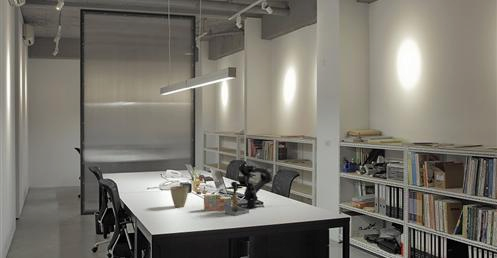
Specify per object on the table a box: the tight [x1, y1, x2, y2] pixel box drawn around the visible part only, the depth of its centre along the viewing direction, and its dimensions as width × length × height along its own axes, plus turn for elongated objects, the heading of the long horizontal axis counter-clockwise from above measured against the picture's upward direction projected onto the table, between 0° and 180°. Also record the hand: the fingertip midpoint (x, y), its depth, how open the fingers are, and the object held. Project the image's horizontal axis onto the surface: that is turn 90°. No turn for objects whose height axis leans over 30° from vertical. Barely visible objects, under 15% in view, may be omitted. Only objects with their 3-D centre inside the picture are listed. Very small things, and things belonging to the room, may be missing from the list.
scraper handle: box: [231, 194, 239, 212], centre depth 364 cm, size 6×6×14 cm
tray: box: [224, 207, 250, 217], centre depth 367 cm, size 14×12×2 cm
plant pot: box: [170, 185, 189, 208], centre depth 395 cm, size 15×15×16 cm
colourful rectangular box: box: [203, 193, 232, 212], centre depth 382 cm, size 21×6×12 cm, turn 103°
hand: (239, 194), depth 372 cm, fingers open, 9 cm apart
